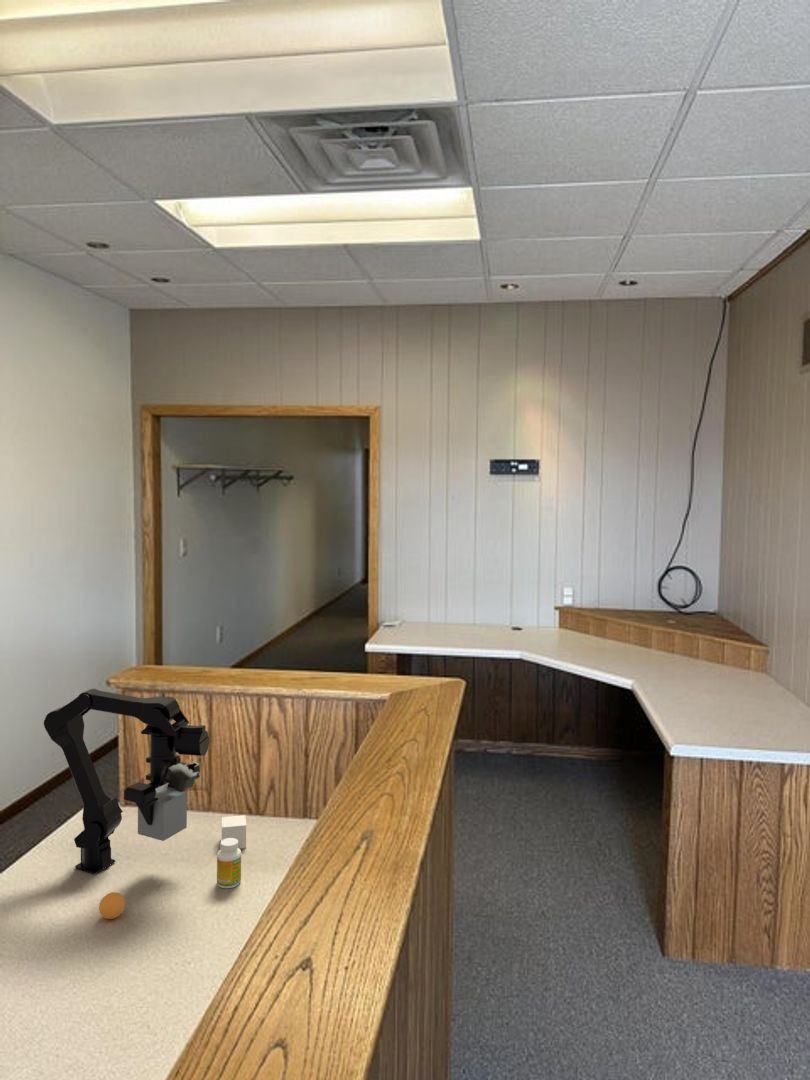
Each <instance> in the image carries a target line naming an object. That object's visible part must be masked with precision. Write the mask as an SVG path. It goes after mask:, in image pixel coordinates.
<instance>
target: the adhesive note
mask: <svg viewBox="0 0 810 1080" xmlns="http://www.w3.org/2000/svg"><path fill="white" fill-rule="evenodd" d="M246 817H247V816H246V815H245V814H244V815H243V814H242V815H234V816H222V817H221V838H220V839H221V841H222V840H223V839H226V838H235V839H237V840H238V848H239V849H240V850H241V849H246V848H247V821H246V820H247V819H246ZM221 841H220V842H221Z"/></svg>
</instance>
